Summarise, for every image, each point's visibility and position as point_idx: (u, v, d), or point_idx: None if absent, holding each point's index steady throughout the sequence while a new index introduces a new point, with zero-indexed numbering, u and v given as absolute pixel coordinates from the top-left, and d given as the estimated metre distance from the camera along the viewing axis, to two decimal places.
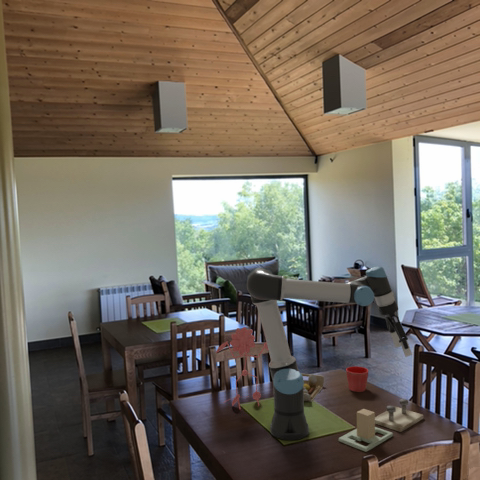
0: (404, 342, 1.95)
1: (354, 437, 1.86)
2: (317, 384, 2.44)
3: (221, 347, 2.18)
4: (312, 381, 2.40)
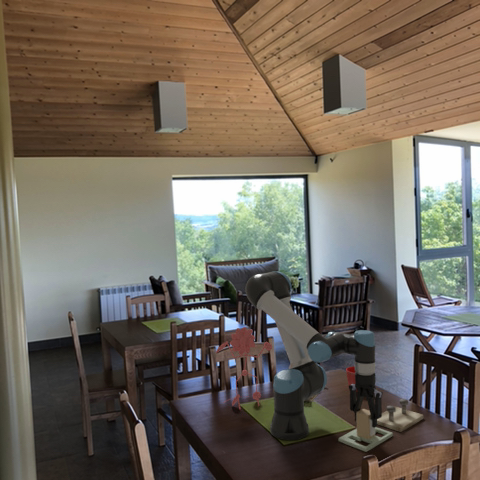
0: (375, 420, 1.83)
1: (354, 437, 1.86)
2: None
3: (221, 347, 2.18)
4: None
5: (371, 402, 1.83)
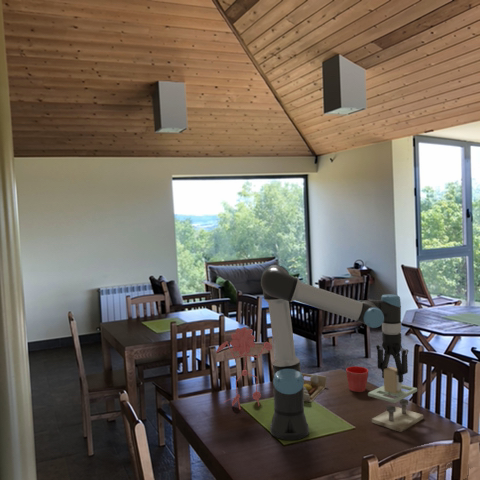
0: (402, 375, 1.99)
1: (382, 392, 2.03)
2: (319, 385, 2.43)
3: (221, 347, 2.18)
4: (314, 381, 2.39)
5: (398, 359, 2.00)
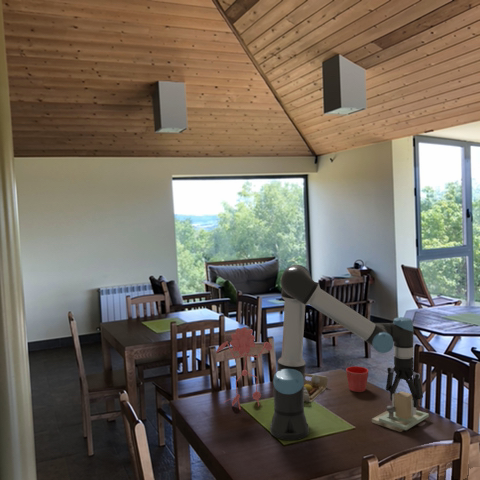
0: (417, 400, 1.95)
1: None
2: (321, 385, 2.42)
3: (221, 347, 2.18)
4: (315, 382, 2.39)
5: (411, 384, 1.96)
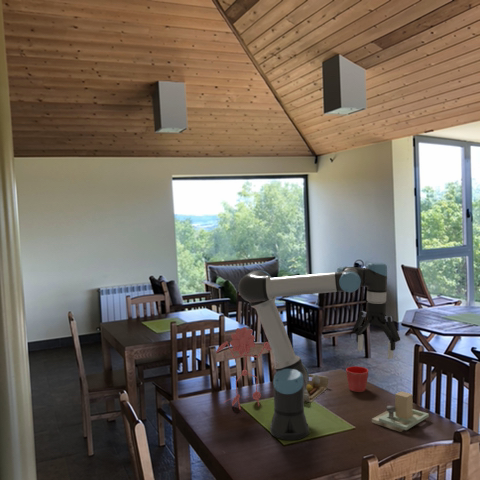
0: (394, 343, 1.90)
1: None
2: (321, 385, 2.42)
3: (221, 347, 2.18)
4: (315, 382, 2.38)
5: (385, 327, 1.93)
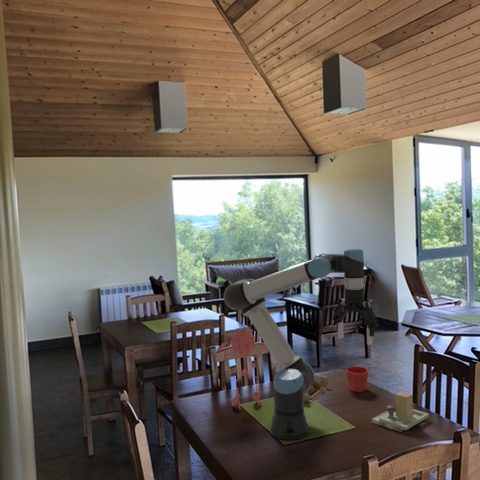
0: (373, 329, 1.88)
1: None
2: (322, 385, 2.42)
3: (221, 347, 2.18)
4: (315, 382, 2.38)
5: (363, 313, 1.91)
